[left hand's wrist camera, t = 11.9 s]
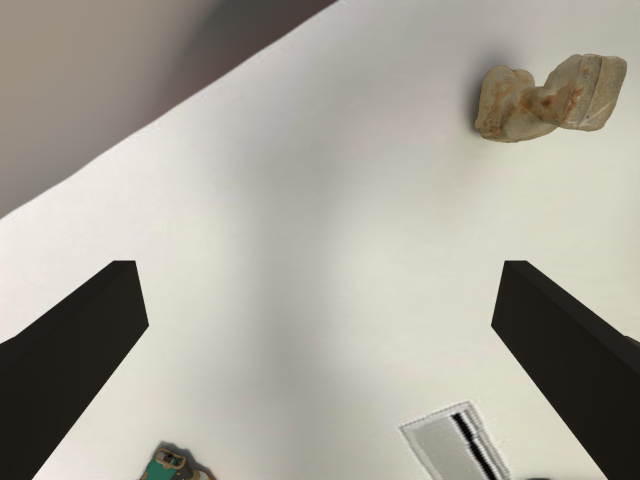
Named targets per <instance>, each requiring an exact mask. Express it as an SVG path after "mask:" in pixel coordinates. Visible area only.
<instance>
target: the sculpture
mask: <svg viewBox="0 0 640 480" xmlns="http://www.w3.org/2000/svg"><path fill="white" fill-rule="evenodd" d="M626 70H627V62H626V61H625V60H624V59H622V58H620V57H617V56H599V55H595V54H586V55H583V56H581V55H578V54H576V55H572V56H570V57H569V58H568V59H566V60H565V61H564V62H562V63H561V64H560V65H558V66H557V68H556V69H555V70H554V71H552V72H551V73H550V74H549V76H548V78H547V80H546V82H545V85H544V86H543V87H535V83H534V78H533V76H532V74H530V73H529V72H528V71H525V70H522V69H516V70H513V71H511V70H510V69H509V68H508V67H507V66H501V65H499V66H496V67H494V68H492V69H491V70H490V71H489V72H488V73H487V75H486V76H485V78H484V81H483V84H482V88H481V94H480V102H479V112H478V117H477V119H476V120H475V123H474V127H475V129H476V130H477V131H480V132H481V136H482V137H483V138H484V139H488V140H492V141H497V142H505V143H511V142H519V141H525V140H531V139H535V138H537V137H540V136H543V135H546V134H549V133H551V132H552V131H554V130H555V129H556V128H558V127H561V128H564V129H574V130H583V131H595V130H599V129H601V128H602V127H604V125H605V123H606V121H607V120H608V119H609V117H610V116H611V114H612V112H613V110H614V107H615V105H616V102H617V99H618V96H619V92H620V89H621V86H622V84H623V81H624V78H625V76H626Z"/></svg>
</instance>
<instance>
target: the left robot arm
mask: <svg viewBox="0 0 640 480" xmlns="http://www.w3.org/2000/svg"><path fill="white" fill-rule="evenodd" d="M148 327H149V323H148V318H147V314H146V309H145V304H144V300H143V295H142V290H141V285H140V281H139V276H138V271H137V267H136V262H135V261H112V262H111V263H110V264H109V265H107V266H106V267H105V268H103V269H102V270H101V271H99V272H98V273H97V274H96V275H94V276H93V277H92V278H90V279H89V280H88V281H86V282H85V283H84V284H83V285H81V286H80V287H79V288H77V289H76V290H75V291H73V292H72V293H71V294H70V295H68V296H67V297H66V298H64V299H63V300H62V301H60V302H59V303H58V304H57V305H55V306H54V307H53V308H51V309H50V310H49V311H47V312H46V313H45V314H44V315H42V316H41V317H40V318H38V319H37V320H36V321H34V322H33V323H32V324H31V325H29V326H28V327H27V328H25V329H24V330H23V331H22V332H20V333H19V334H18V335H16V336H15V337H13V338H11V339H9V340H7V341H5V342H3V343H1V344H0V480H32V479H33V477H34V476H35V475H36V473H37V472H38V471H39V470H40V468H41V467H42V466H43V464H44V463H45V462H46V460H47V459H48V458H49V456H50V455H51V454H52V452H53V451H54V450H55V449H56V447H57V446H58V445H59V443H60V442H61V441H62V439H63V438H64V437H65V435H66V434H67V433H68V431H69V430H70V429H71V428H72V426H73V425H74V424H75V422H76V421H77V420H78V418H79V417H80V416H81V414H82V413H83V412H84V411H85V409H86V408H87V407H88V405H89V404H90V403H91V401H92V400H93V399H94V397H95V396H96V395H97V393H98V392H99V391H100V390H101V388H102V387H103V386H104V384H105V383H106V382H107V380H108V379H109V378H110V376H111V375H112V374H113V372H114V371H115V370H116V369H117V367H118V366H119V365H120V363H121V362H122V361H123V359H124V358H125V357H126V355H127V354H128V353H129V352H130V350H131V349H132V348H133V346H134V345H135V344H136V342H137V341H138V340H139V338H140V337H141V336H142V334H143V333H144V332H145V331H146V329H147V328H148ZM491 327H492V328H493V329H494V331H495V332H496V333H497V334H498V336H499V337H500V338H501V340H502V341H503V342H504V344H505V345H506V346H507V348H508V349H509V350H510V352H511V353H512V354H513V355H514V357H515V358H516V359H517V361H518V362H519V363H520V365H521V366H522V367H523V369H524V370H525V371H526V372H527V374H528V375H529V376H530V378H531V379H532V380H533V382H534V383H535V384H536V386H537V387H538V388H539V390H540V391H541V392H542V393H543V395H544V396H545V397H546V399H547V400H548V401H549V403H550V404H551V405H552V407H553V408H554V409H555V411H556V412H557V413H558V414H559V416H560V417H561V418H562V420H563V421H564V422H565V424H566V425H567V426H568V428H569V429H570V430H571V431H572V433H573V434H574V435H575V437H576V438H577V439H578V441H579V442H580V443H581V445H582V446H583V447H584V449H585V450H586V451H587V452H588V454H589V455H590V456H591V458H592V459H593V460H594V462H595V463H596V464H597V466H598V467H599V468H600V470H601V471H602V472H603V473H604V475H605V476H606V477H607V479H608V480H640V342H638V341H636V340H634V339H632V338H630V337H628V336H624V335H622V334H621V333H620V332H618V331H617V330H616V329H615V328H613V327H612V326H611V325H609V324H608V323H607V322H606V321H604V320H603V319H602V318H600V317H599V316H598V315H596V314H595V313H594V312H593V311H591V310H590V309H589V308H587V307H586V306H585V305H583V304H582V303H581V302H580V301H578V300H577V299H576V298H574V297H573V296H572V295H570V294H569V293H568V292H567V291H565V290H564V289H563V288H561V287H560V286H559V285H557V284H556V283H555V282H554V281H552V280H551V279H550V278H548V277H547V276H546V275H544V274H543V273H542V272H541V271H539V270H538V269H537V268H535V267H534V266H533V265H531V264H530V263H529V262H528V261H505V262H504V267H503V271H502V276H501V281H500V285H499V290H498V295H497V300H496V304H495V309H494V314H493V318H492V323H491Z"/></svg>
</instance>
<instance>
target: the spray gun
mask: <svg viewBox="0 0 640 480" xmlns="http://www.w3.org/2000/svg"><path fill="white" fill-rule="evenodd" d="M160 451H164V452H166V453H167V454H164V453H162V452H160ZM174 457H176V458H174ZM177 458H178V459H183V461H182V460H181V461H180V462H178V459H177ZM182 479H184V480H210V478H209V477H208V475H207V474H205V473H204V472H202V471H198V470H193V471H192V469H191V467H190V465H189V464H188V462H187V460H186V458H185V457H184V456H179V455H177V454H174V453H172V452H170V451H168V450H166V449H164V448H161V449H159V450H158V452H157V453H156V455H155V456H154V458H153V459H152V460H151V462H150V463H149V465H148V467H147V471H146V472H145V474H144V475H143V477H142V478H141V480H182Z"/></svg>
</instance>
